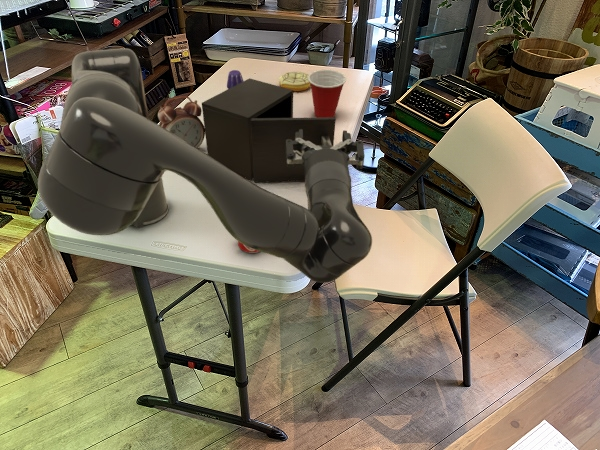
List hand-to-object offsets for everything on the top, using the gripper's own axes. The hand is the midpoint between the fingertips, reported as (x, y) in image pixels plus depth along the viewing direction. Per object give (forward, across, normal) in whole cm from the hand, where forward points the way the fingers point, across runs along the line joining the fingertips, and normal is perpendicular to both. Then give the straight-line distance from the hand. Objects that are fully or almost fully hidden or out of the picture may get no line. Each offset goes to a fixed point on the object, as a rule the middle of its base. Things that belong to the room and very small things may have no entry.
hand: (322, 134), depth 85 cm
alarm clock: (+21, -33, -18) cm, 43 cm away
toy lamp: (+34, -20, -18) cm, 43 cm away
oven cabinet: (+20, -16, -17) cm, 31 cm away
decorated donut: (+66, -5, -18) cm, 69 cm away
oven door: (+6, -5, -17) cm, 19 cm away
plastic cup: (+44, +4, -18) cm, 48 cm away
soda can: (-13, -13, -17) cm, 26 cm away
